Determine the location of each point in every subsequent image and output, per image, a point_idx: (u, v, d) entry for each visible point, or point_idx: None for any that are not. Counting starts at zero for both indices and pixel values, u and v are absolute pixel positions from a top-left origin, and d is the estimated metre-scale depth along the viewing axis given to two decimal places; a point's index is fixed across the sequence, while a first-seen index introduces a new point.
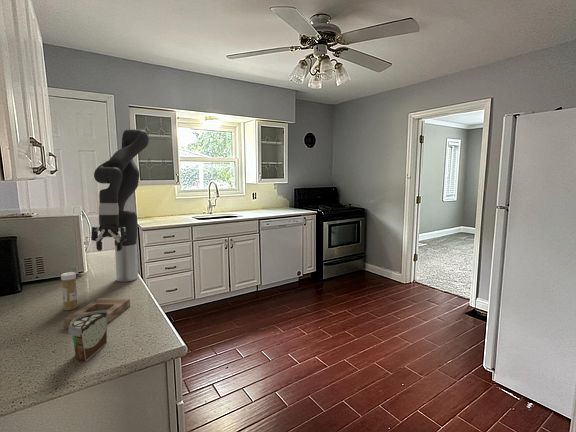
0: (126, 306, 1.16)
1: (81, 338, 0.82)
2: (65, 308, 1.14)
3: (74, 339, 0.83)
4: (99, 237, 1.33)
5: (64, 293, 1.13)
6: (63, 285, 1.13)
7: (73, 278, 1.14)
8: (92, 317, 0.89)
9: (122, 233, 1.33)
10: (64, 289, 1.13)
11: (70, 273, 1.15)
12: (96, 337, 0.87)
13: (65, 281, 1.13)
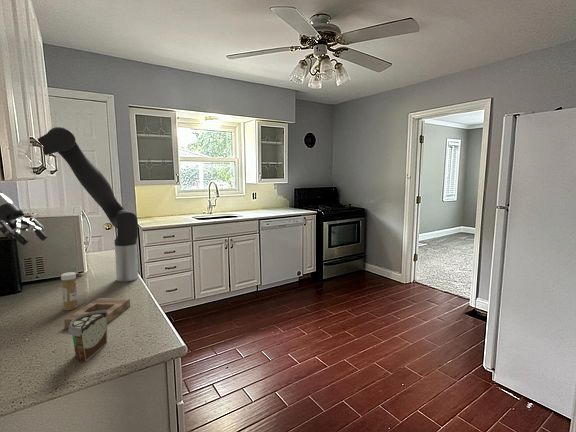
0: (126, 306, 1.16)
1: (81, 338, 0.82)
2: (65, 308, 1.14)
3: (74, 339, 0.83)
4: None
5: (64, 293, 1.13)
6: (63, 285, 1.13)
7: (73, 278, 1.14)
8: (92, 317, 0.89)
9: None
10: (64, 289, 1.13)
11: (70, 273, 1.15)
12: (96, 337, 0.87)
13: (65, 281, 1.13)
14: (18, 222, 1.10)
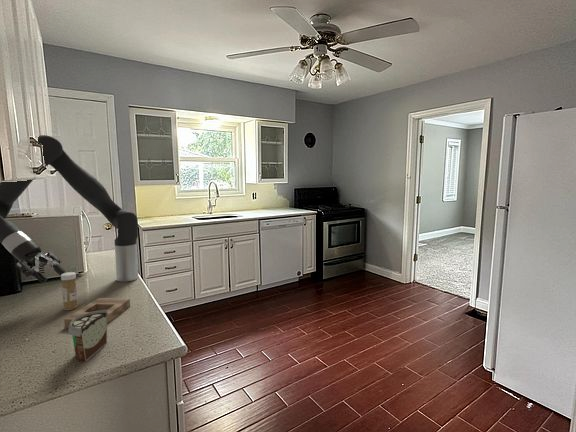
0: (126, 306, 1.16)
1: (81, 338, 0.82)
2: (65, 308, 1.14)
3: (74, 339, 0.83)
4: (46, 266, 1.18)
5: (64, 293, 1.13)
6: (63, 285, 1.13)
7: (73, 278, 1.14)
8: (92, 317, 0.89)
9: None
10: (64, 289, 1.13)
11: (70, 273, 1.15)
12: (96, 337, 0.87)
13: (65, 281, 1.13)
14: (36, 260, 1.12)
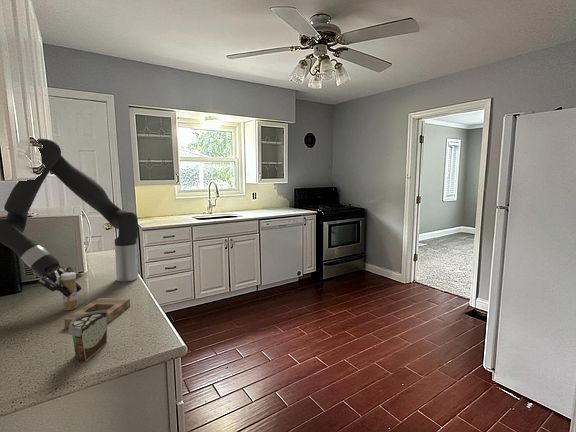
0: (126, 306, 1.16)
1: (81, 338, 0.82)
2: (65, 308, 1.14)
3: (74, 339, 0.83)
4: None
5: None
6: None
7: (73, 278, 1.14)
8: (92, 317, 0.89)
9: None
10: None
11: (70, 273, 1.15)
12: (96, 337, 0.87)
13: (65, 281, 1.13)
14: (57, 274, 1.13)
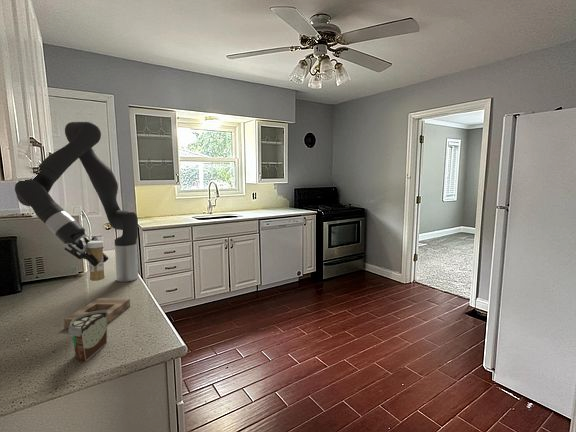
0: (126, 306, 1.16)
1: (81, 338, 0.82)
2: (92, 278, 1.06)
3: (74, 339, 0.83)
4: None
5: None
6: None
7: (100, 247, 1.06)
8: (92, 317, 0.89)
9: None
10: None
11: (97, 241, 1.07)
12: (96, 337, 0.87)
13: (92, 249, 1.05)
14: (83, 241, 1.05)
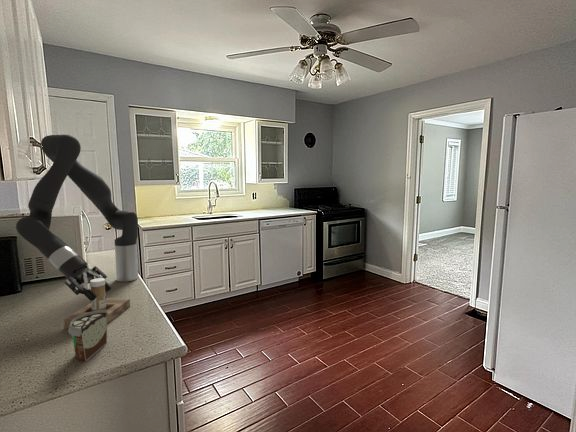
0: (126, 306, 1.16)
1: (81, 338, 0.82)
2: None
3: (74, 339, 0.83)
4: None
5: (93, 300, 1.07)
6: None
7: (102, 285, 1.08)
8: (92, 317, 0.89)
9: None
10: None
11: (99, 279, 1.08)
12: (96, 337, 0.87)
13: (94, 288, 1.06)
14: (85, 276, 1.06)
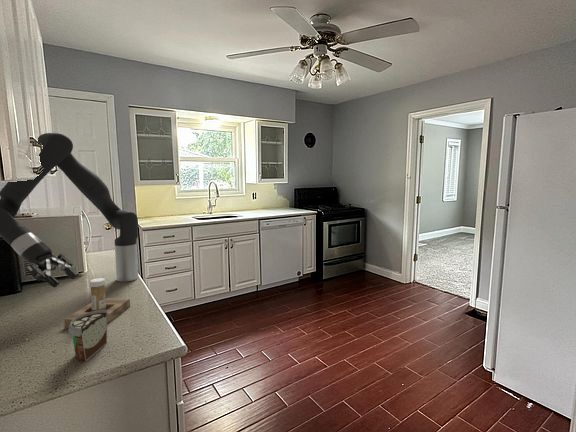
0: (126, 306, 1.16)
1: (81, 338, 0.82)
2: None
3: (74, 339, 0.83)
4: None
5: (93, 300, 1.07)
6: (92, 292, 1.07)
7: (102, 285, 1.08)
8: (92, 317, 0.89)
9: None
10: (93, 296, 1.07)
11: (99, 279, 1.08)
12: (96, 337, 0.87)
13: (94, 288, 1.06)
14: (48, 263, 1.06)
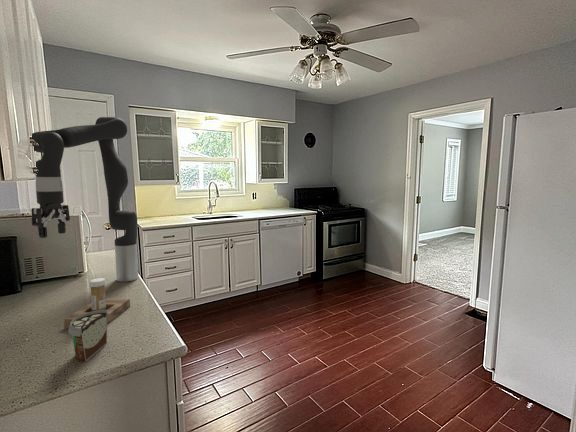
0: (126, 306, 1.16)
1: (81, 338, 0.82)
2: None
3: (74, 339, 0.83)
4: (54, 217, 1.13)
5: (93, 300, 1.07)
6: (92, 292, 1.07)
7: (102, 285, 1.08)
8: (92, 317, 0.89)
9: None
10: (93, 296, 1.07)
11: (99, 279, 1.08)
12: (96, 337, 0.87)
13: (94, 288, 1.06)
14: (52, 213, 1.08)
